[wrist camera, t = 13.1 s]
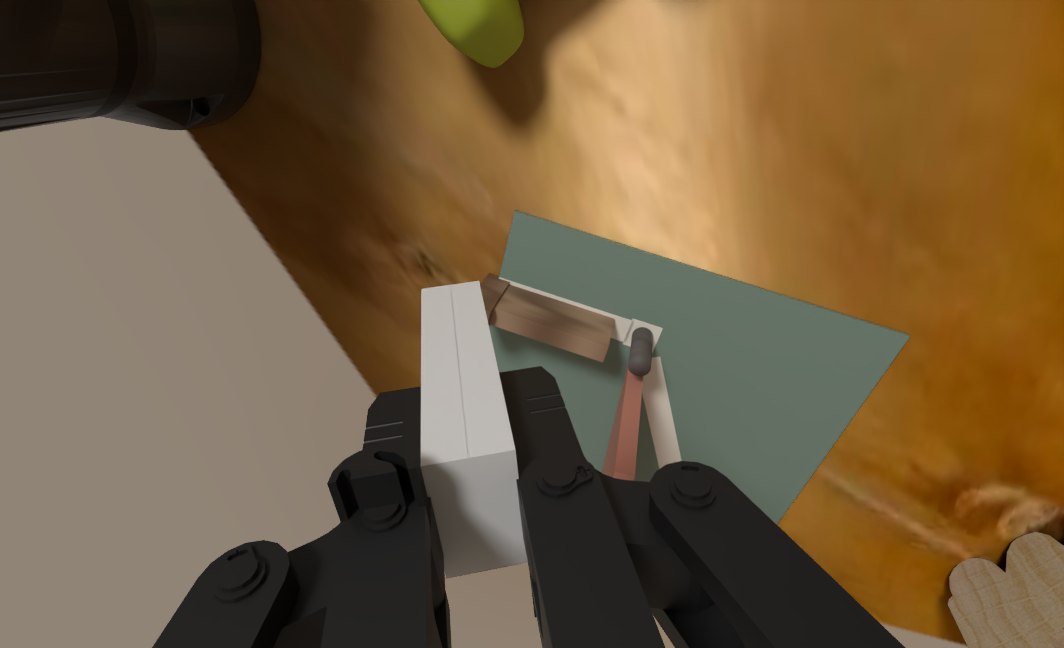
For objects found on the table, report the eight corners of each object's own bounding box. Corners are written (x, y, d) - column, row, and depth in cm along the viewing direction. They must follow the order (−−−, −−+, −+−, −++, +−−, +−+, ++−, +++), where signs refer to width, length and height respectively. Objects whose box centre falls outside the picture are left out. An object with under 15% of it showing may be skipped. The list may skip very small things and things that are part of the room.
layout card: (460, 441, 52) (459, 443, 52) (515, 210, 41) (514, 211, 40) (759, 546, 50) (759, 549, 50) (908, 334, 38) (910, 336, 38)
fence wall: (484, 292, 44) (461, 324, 40) (489, 273, 44) (466, 303, 39) (648, 346, 43) (645, 386, 39) (656, 327, 43) (654, 366, 38)
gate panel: (629, 358, 44) (614, 471, 32) (644, 361, 43) (634, 476, 32) (598, 486, 50) (577, 616, 39) (611, 489, 50) (593, 620, 39)
